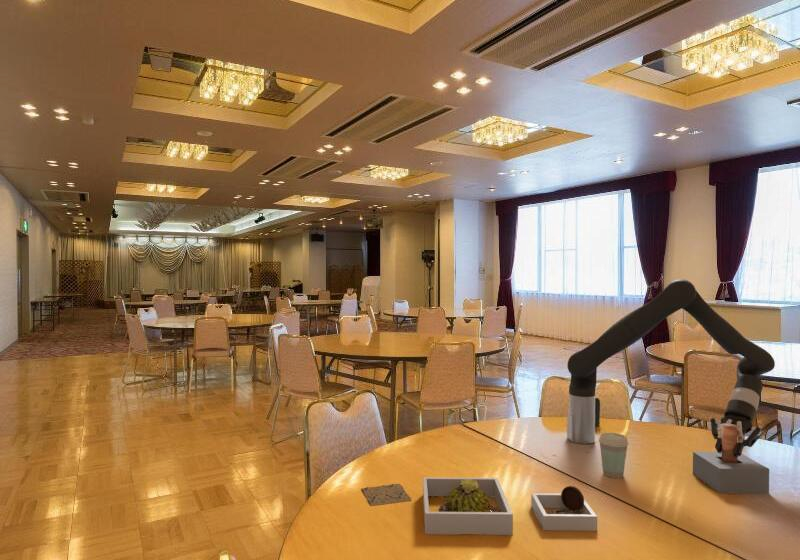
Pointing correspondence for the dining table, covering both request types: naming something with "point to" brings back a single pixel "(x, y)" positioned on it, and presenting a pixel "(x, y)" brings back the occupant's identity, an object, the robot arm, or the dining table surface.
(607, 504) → the dining table surface
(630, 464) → the dining table surface
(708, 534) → the dining table surface
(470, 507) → the cactus
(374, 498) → the speckled stone tile
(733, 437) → the pin
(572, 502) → the dark brown rounded piece
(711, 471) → the hole block
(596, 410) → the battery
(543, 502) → the tray
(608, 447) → the coffee cup
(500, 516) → the cactus tray
